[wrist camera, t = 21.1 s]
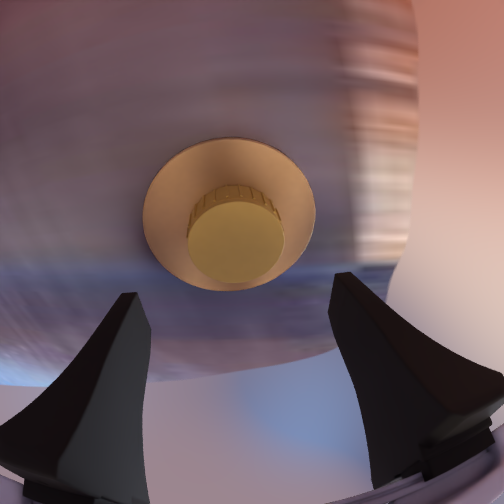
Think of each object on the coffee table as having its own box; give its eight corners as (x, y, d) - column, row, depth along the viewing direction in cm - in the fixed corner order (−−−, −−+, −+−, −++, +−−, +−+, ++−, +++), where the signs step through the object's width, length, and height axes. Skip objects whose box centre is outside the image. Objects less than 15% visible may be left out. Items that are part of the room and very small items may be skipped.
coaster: (183, 302, 19) (183, 306, 18) (115, 174, 14) (113, 177, 13) (323, 262, 18) (325, 266, 18) (294, 114, 13) (296, 116, 13)
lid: (277, 259, 17) (283, 280, 16) (193, 264, 17) (192, 287, 15) (280, 181, 14) (289, 197, 13) (183, 186, 14) (180, 203, 12)
